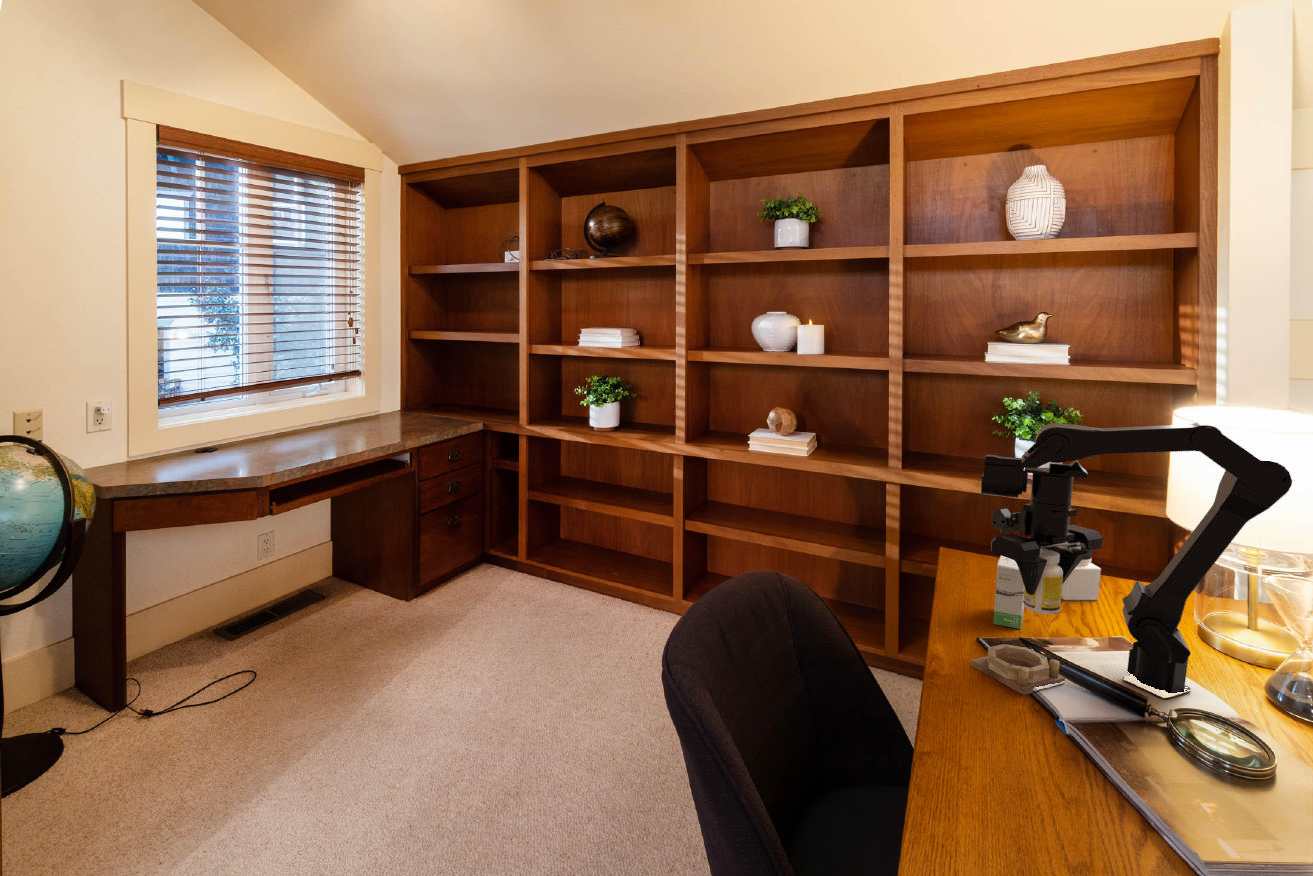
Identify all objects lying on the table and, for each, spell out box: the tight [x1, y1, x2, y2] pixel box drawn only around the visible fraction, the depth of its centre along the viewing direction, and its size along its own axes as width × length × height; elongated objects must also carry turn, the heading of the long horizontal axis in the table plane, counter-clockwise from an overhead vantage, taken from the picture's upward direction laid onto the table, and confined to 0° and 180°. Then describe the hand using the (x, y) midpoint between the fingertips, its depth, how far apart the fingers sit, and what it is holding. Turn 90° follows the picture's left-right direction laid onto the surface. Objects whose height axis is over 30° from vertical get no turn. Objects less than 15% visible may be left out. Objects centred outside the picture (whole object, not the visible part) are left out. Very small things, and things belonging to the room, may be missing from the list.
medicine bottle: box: [1061, 543, 1102, 601], centre depth 139 cm, size 7×7×12 cm
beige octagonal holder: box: [970, 643, 1066, 696], centre depth 107 cm, size 10×9×3 cm
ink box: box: [993, 555, 1025, 630], centre depth 127 cm, size 9×5×12 cm, turn 148°
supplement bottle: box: [1023, 548, 1063, 615], centre depth 109 cm, size 5×5×10 cm
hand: (1042, 591), depth 110 cm, fingers closed on supplement bottle, 5 cm apart
